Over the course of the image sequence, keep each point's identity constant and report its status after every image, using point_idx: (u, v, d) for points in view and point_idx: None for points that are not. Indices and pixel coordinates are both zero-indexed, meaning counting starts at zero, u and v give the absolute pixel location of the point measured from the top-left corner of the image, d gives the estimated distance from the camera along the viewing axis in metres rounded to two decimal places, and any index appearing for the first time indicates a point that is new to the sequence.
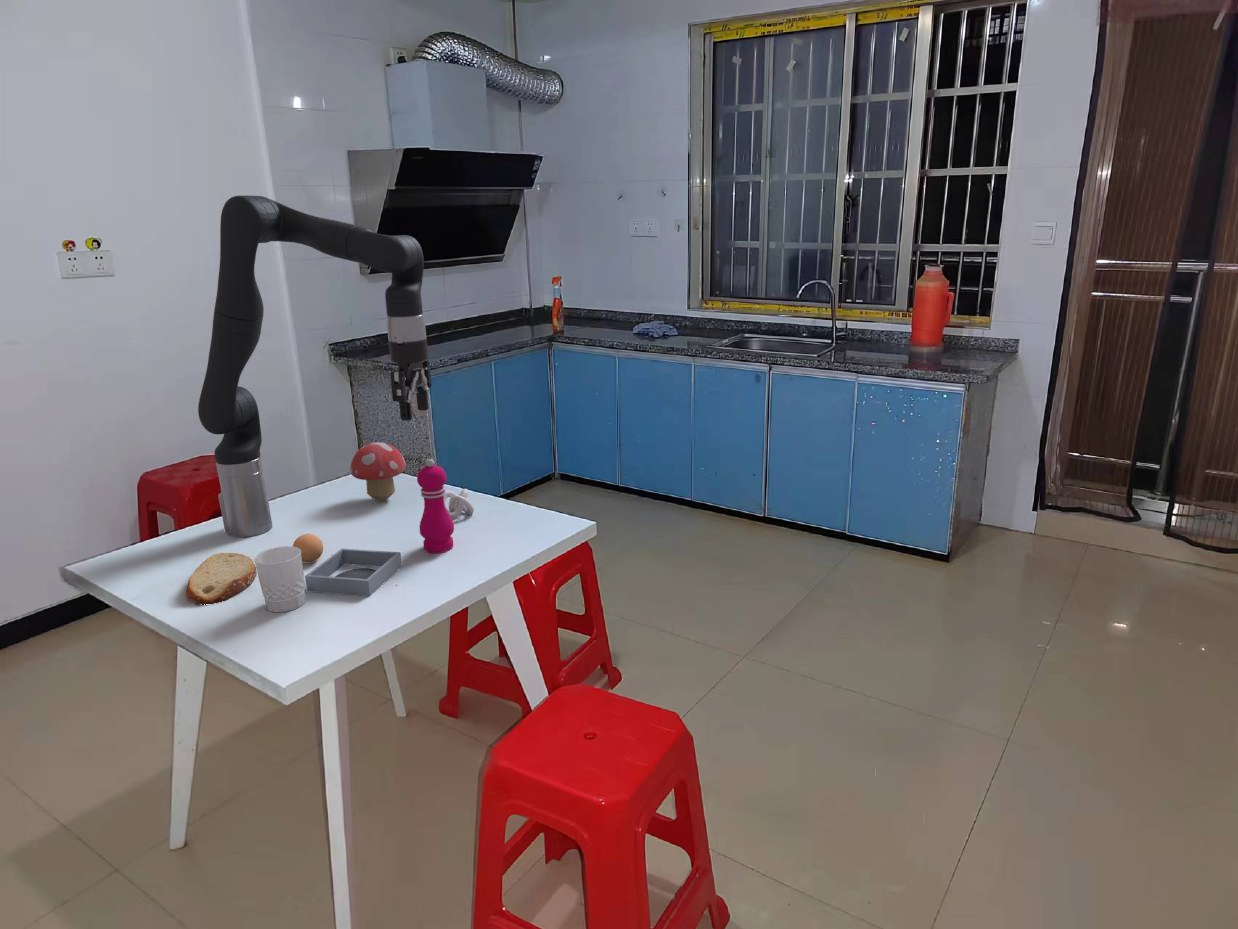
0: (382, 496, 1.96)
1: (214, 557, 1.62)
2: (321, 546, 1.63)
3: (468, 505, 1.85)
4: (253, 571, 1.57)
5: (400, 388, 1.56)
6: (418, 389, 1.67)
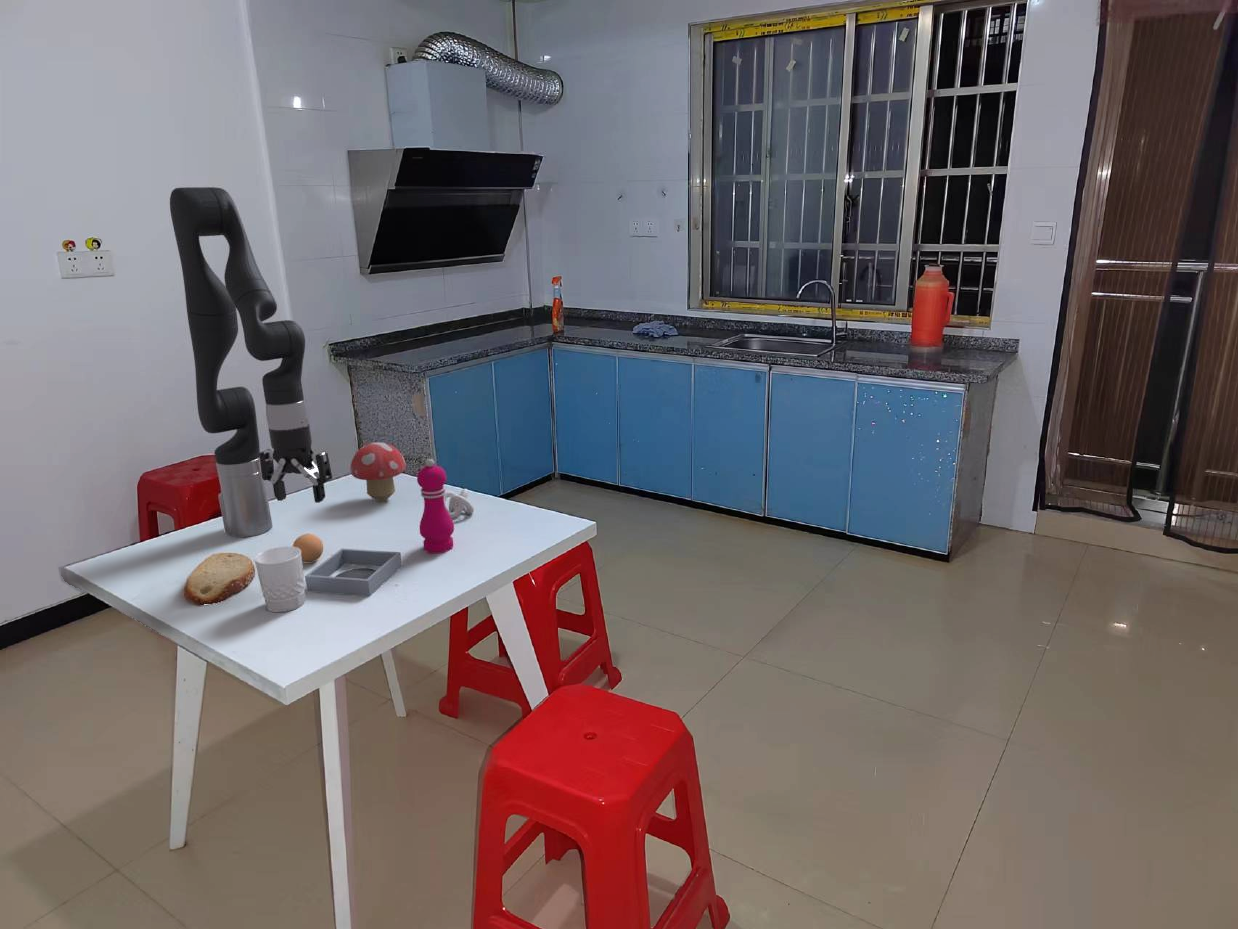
0: (382, 496, 1.96)
1: (213, 557, 1.62)
2: (321, 546, 1.63)
3: (468, 505, 1.85)
4: (251, 571, 1.57)
5: (328, 467, 1.57)
6: (277, 479, 1.59)
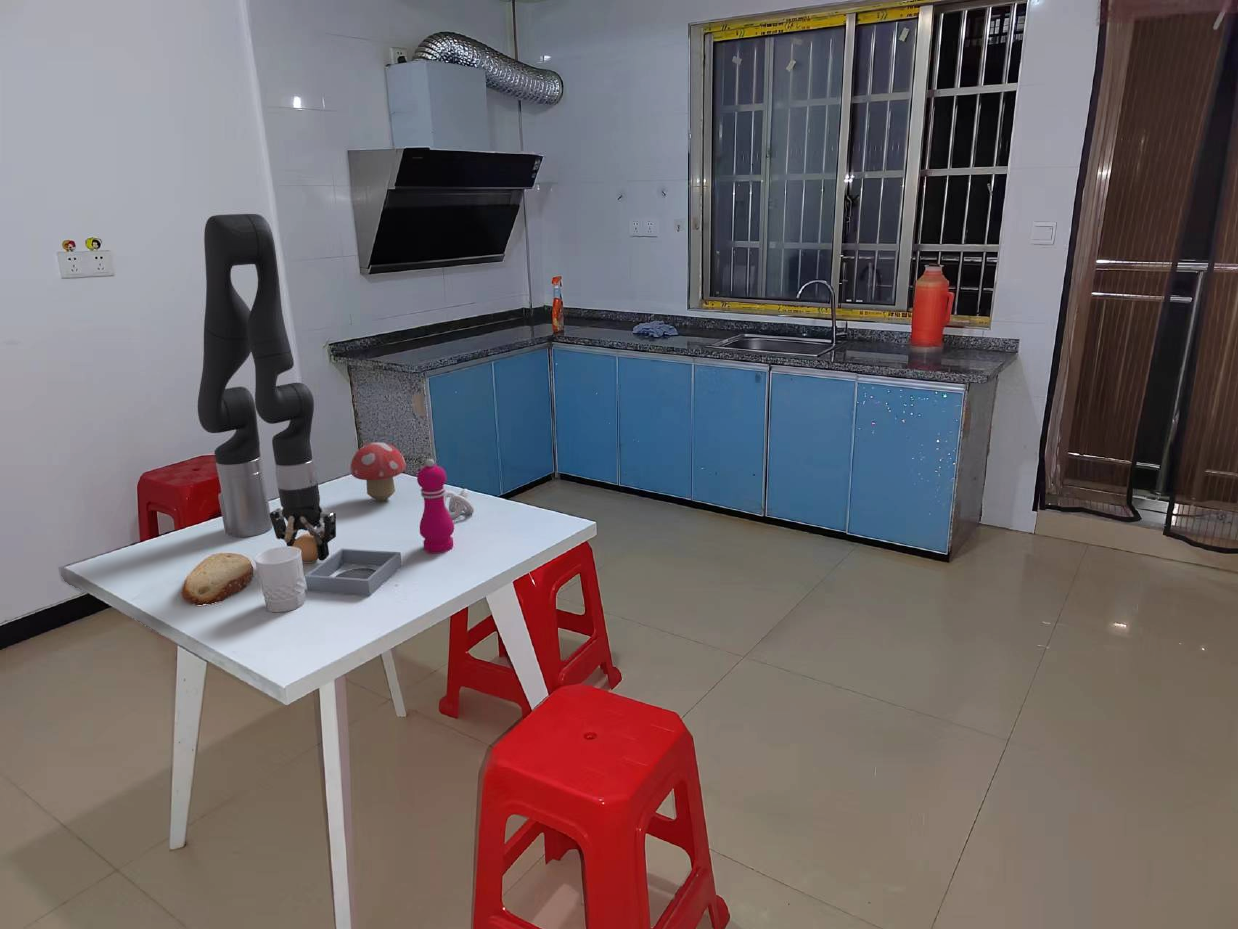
0: (382, 496, 1.96)
1: (213, 557, 1.63)
2: None
3: (468, 505, 1.85)
4: (250, 572, 1.57)
5: (334, 527, 1.61)
6: (290, 537, 1.63)
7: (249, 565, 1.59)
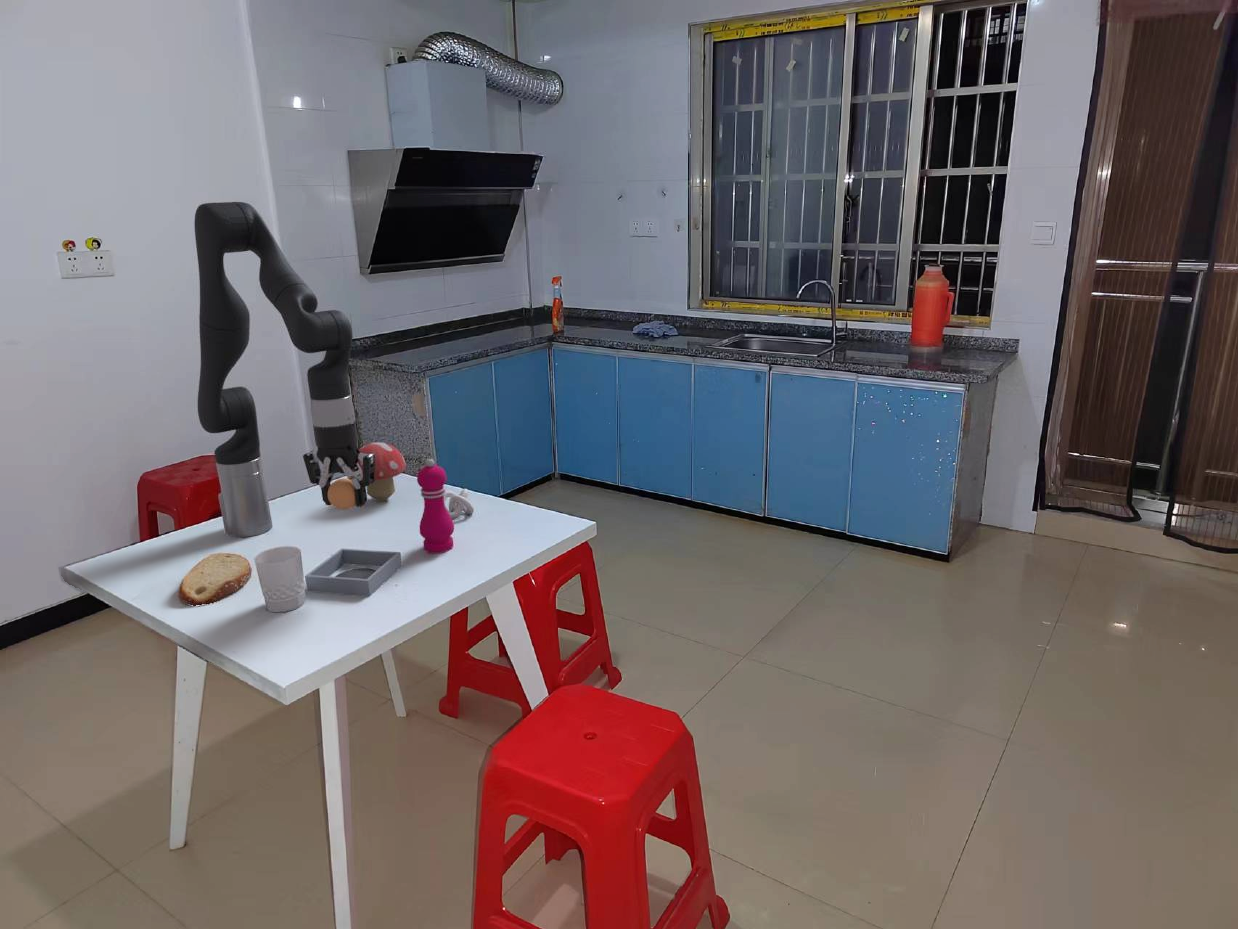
0: (382, 496, 1.96)
1: (211, 557, 1.62)
2: None
3: (468, 505, 1.85)
4: (247, 572, 1.57)
5: (373, 470, 1.48)
6: None
7: (247, 566, 1.59)
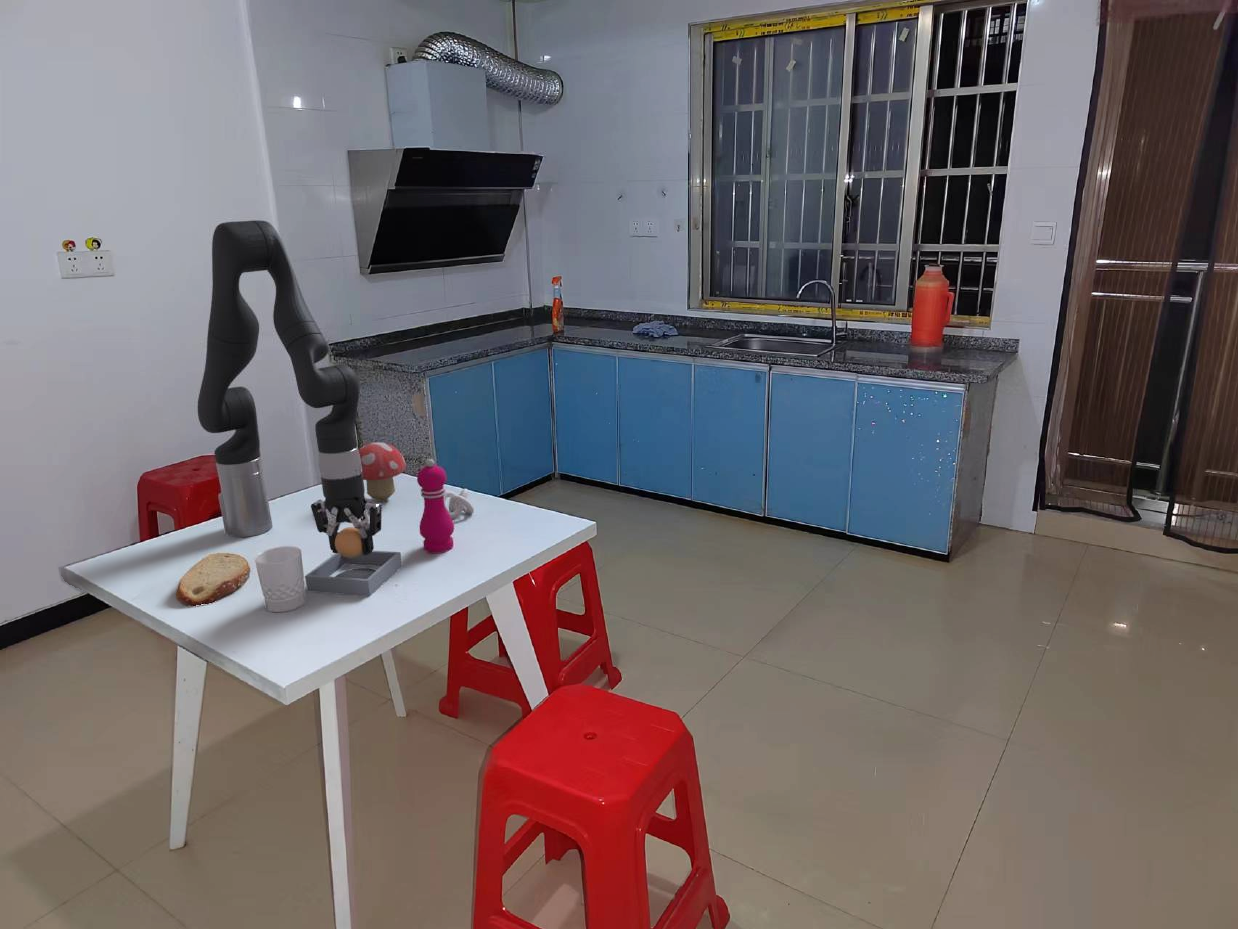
0: (382, 496, 1.96)
1: (210, 557, 1.62)
2: None
3: (468, 505, 1.85)
4: (245, 573, 1.56)
5: (379, 520, 1.51)
6: None
7: (245, 566, 1.59)
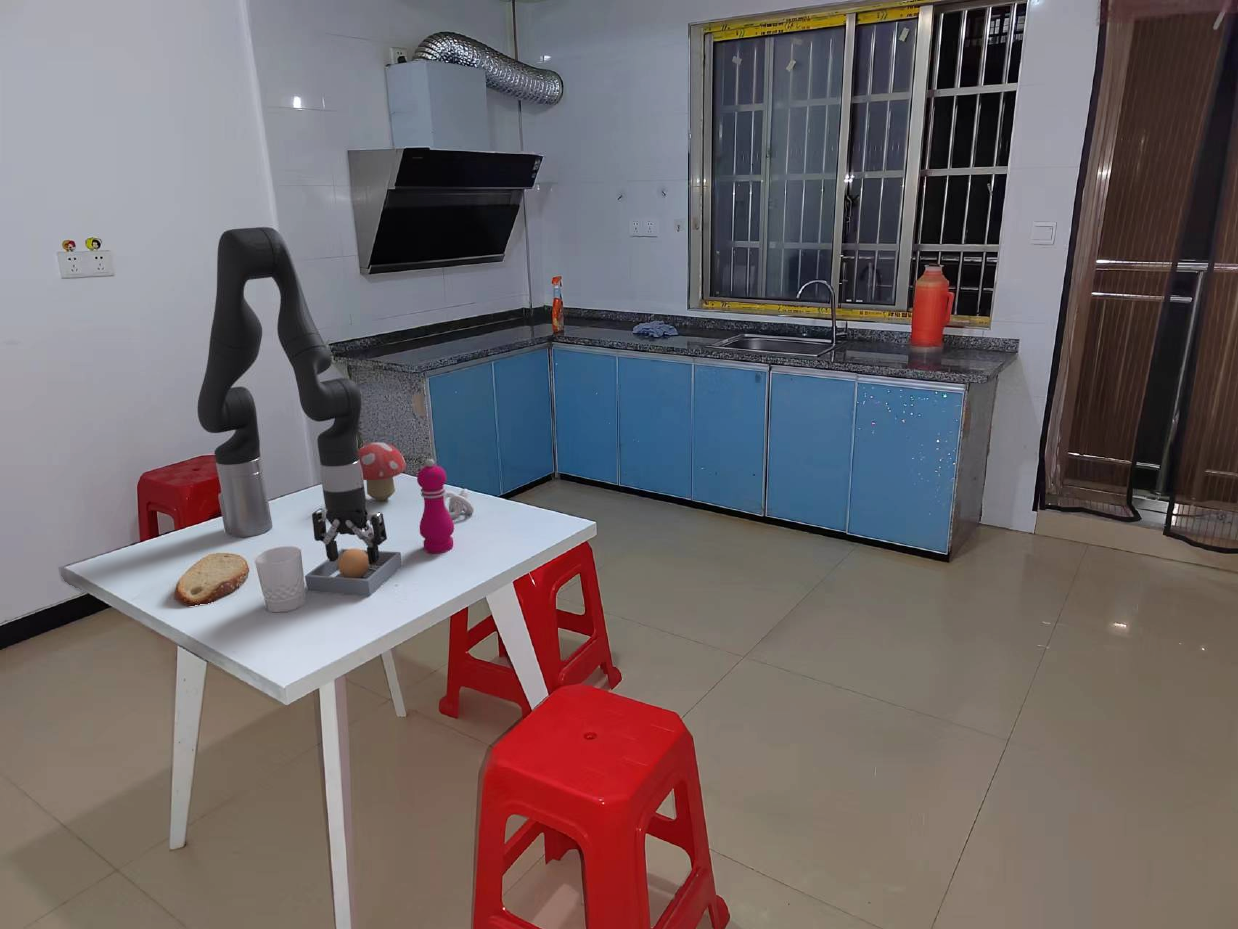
0: (382, 496, 1.96)
1: (209, 557, 1.62)
2: (368, 561, 1.55)
3: (468, 505, 1.85)
4: (244, 573, 1.56)
5: (383, 528, 1.52)
6: None
7: (244, 566, 1.59)
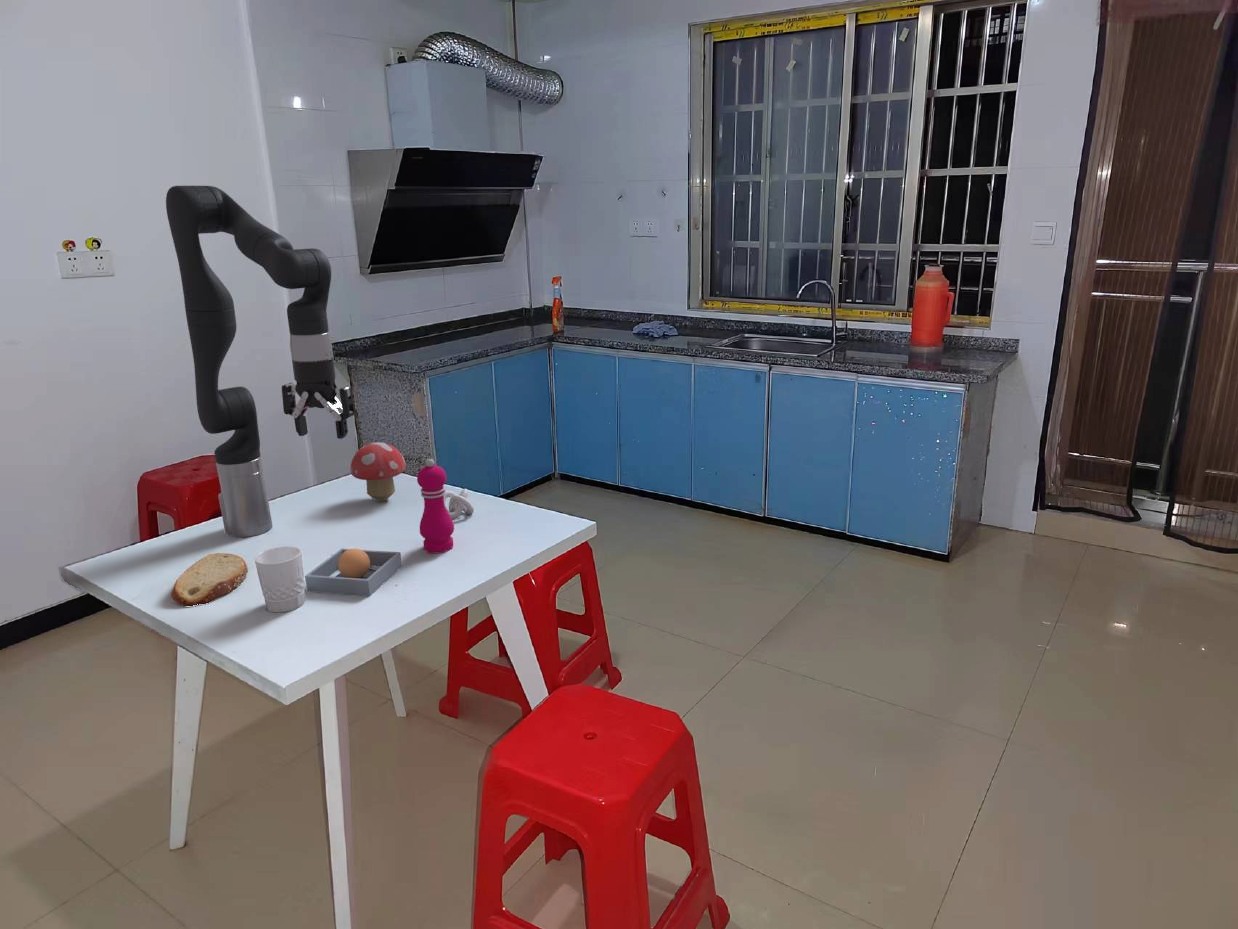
0: (382, 496, 1.96)
1: (209, 557, 1.63)
2: (368, 562, 1.55)
3: (468, 505, 1.85)
4: (242, 573, 1.56)
5: (352, 402, 1.54)
6: None
7: (242, 566, 1.59)
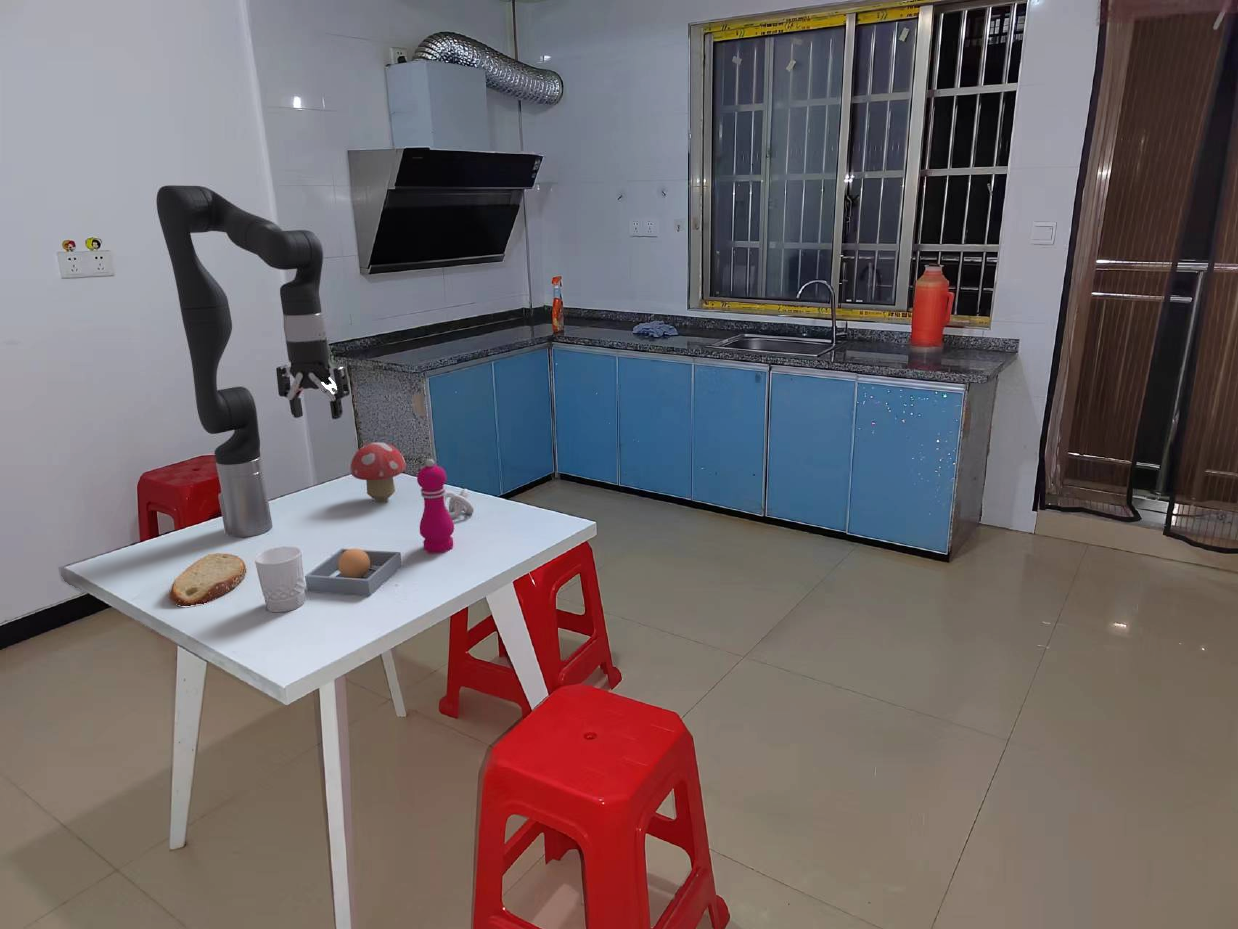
0: (382, 496, 1.96)
1: (208, 557, 1.63)
2: (368, 562, 1.55)
3: (468, 505, 1.85)
4: (240, 574, 1.56)
5: (346, 383, 1.55)
6: None
7: (241, 567, 1.58)
